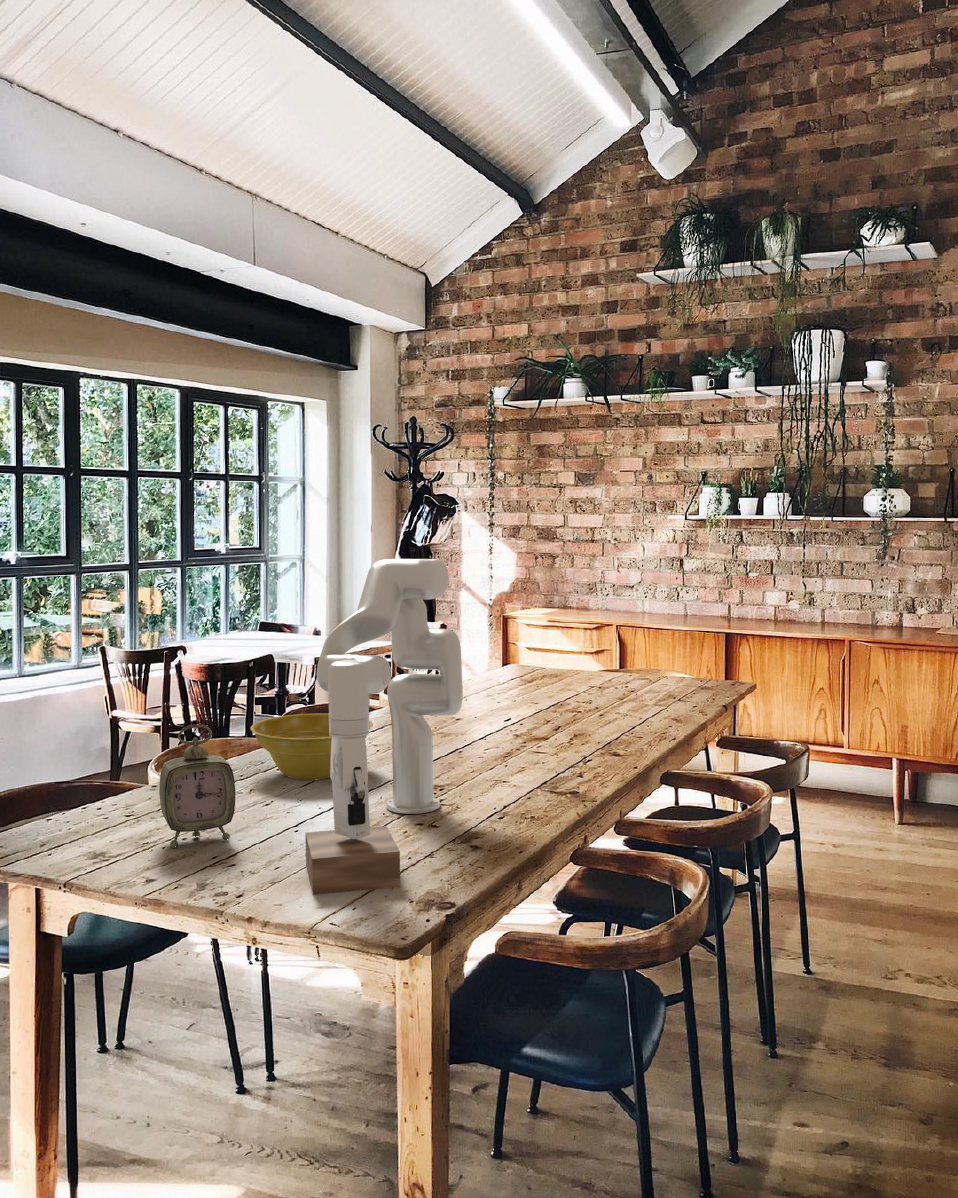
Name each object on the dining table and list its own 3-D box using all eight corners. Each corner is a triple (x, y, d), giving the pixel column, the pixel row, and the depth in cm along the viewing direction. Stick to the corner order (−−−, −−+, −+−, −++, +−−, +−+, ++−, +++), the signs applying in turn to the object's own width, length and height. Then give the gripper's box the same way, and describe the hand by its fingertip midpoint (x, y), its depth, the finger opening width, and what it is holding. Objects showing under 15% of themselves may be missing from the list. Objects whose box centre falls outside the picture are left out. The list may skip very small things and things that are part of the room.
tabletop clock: (166, 852, 209) (162, 731, 207) (159, 839, 217) (155, 723, 215) (236, 842, 215) (233, 725, 213) (228, 830, 223) (225, 717, 221)
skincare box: (371, 835, 193) (370, 772, 192) (352, 840, 190) (351, 777, 189) (350, 828, 197) (349, 767, 196) (332, 834, 194) (330, 771, 193)
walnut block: (306, 867, 200) (305, 832, 199) (386, 860, 204) (386, 826, 203) (312, 896, 184) (312, 858, 184) (400, 888, 188) (399, 851, 187)
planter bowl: (395, 777, 268) (394, 727, 267) (281, 796, 250) (279, 742, 249) (340, 754, 294) (339, 708, 293) (233, 770, 276) (232, 721, 275)
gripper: (318, 719, 198) (320, 809, 200) (342, 737, 182) (344, 834, 184) (355, 716, 201) (357, 804, 203) (382, 733, 185) (383, 829, 187)
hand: (351, 818), depth 193 cm, fingers closed on skincare box, 7 cm apart
